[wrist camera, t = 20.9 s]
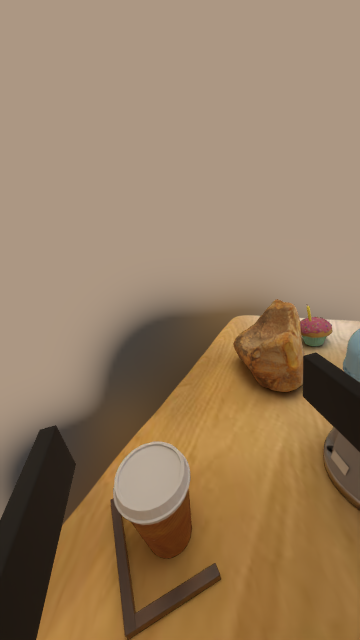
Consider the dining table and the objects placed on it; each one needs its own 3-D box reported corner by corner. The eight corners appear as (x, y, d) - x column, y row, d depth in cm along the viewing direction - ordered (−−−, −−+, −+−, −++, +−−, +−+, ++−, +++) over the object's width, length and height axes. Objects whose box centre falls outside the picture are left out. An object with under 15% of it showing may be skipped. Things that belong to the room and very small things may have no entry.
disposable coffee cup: (125, 570, 31) (95, 512, 27) (147, 492, 40) (127, 438, 35) (200, 580, 29) (181, 519, 24) (205, 495, 38) (193, 438, 33)
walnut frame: (177, 471, 42) (176, 467, 42) (221, 579, 29) (220, 574, 28) (112, 503, 39) (110, 499, 39) (127, 640, 26) (125, 636, 26)
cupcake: (308, 352, 66) (309, 311, 61) (290, 338, 73) (290, 301, 69) (338, 345, 66) (341, 303, 61) (318, 332, 74) (319, 294, 69)
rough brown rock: (245, 344, 77) (236, 300, 71) (305, 342, 69) (300, 292, 64) (228, 397, 58) (214, 342, 53) (308, 402, 50) (301, 339, 45)
